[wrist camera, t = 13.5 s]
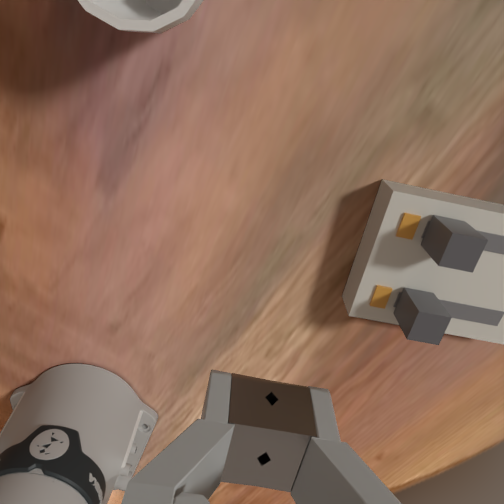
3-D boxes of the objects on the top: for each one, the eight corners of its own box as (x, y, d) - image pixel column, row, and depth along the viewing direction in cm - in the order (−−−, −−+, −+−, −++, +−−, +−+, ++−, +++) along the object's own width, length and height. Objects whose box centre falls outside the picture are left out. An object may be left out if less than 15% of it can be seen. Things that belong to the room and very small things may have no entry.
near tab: (451, 251, 42) (472, 272, 38) (420, 245, 42) (438, 265, 37) (464, 221, 40) (488, 240, 36) (432, 214, 40) (452, 232, 36)
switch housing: (505, 326, 50) (525, 349, 47) (341, 296, 49) (349, 317, 45) (565, 217, 45) (594, 233, 41) (382, 179, 43) (394, 191, 39)
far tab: (422, 318, 45) (438, 344, 41) (393, 313, 45) (407, 339, 41) (433, 292, 44) (451, 317, 40) (403, 287, 44) (419, 311, 39)
